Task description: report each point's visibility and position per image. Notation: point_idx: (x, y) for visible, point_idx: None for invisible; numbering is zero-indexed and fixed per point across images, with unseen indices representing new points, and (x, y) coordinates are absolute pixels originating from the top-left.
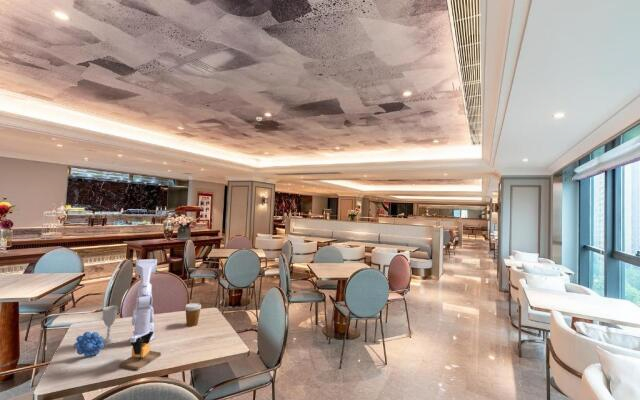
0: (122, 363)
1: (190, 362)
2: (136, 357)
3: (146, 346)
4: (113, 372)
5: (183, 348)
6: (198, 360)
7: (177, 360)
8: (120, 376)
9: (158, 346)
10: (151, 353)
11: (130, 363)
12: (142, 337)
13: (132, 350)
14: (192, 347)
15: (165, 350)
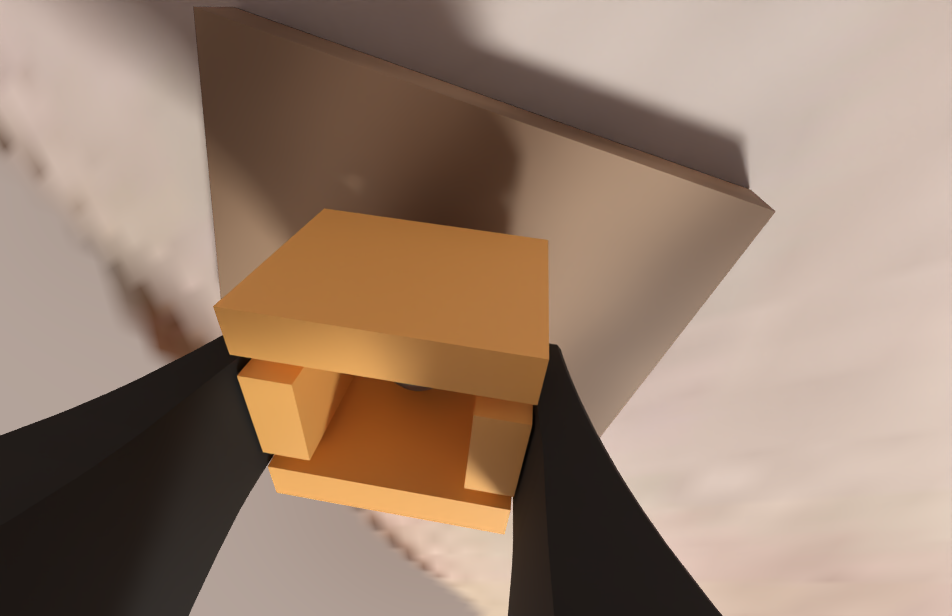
0: (222, 80)
1: (446, 575)
2: (452, 222)
3: (386, 502)
4: (87, 18)
5: (716, 543)
6: (474, 600)
7: None
8: (77, 186)
9: (929, 339)
10: (574, 372)
11: (264, 216)
12: (534, 600)
13: (257, 280)
14: (713, 583)
15: (723, 434)
